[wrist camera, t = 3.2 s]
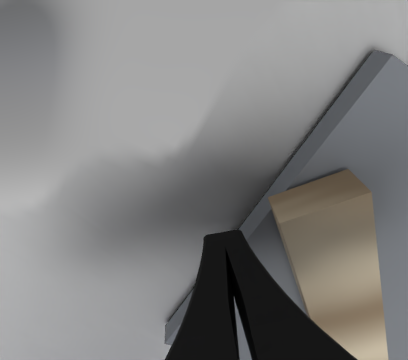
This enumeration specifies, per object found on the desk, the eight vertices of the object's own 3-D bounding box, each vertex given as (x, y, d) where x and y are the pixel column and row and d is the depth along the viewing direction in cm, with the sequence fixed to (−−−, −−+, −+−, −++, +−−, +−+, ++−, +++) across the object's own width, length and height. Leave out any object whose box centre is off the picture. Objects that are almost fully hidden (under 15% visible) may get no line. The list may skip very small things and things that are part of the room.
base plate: (369, 376, 21) (377, 392, 20) (165, 325, 16) (164, 343, 16) (602, 216, 15) (628, 230, 14) (374, 50, 10) (392, 54, 9)
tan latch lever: (382, 374, 19) (417, 438, 16) (326, 389, 19) (351, 453, 17) (356, 165, 11) (418, 223, 8) (259, 199, 11) (286, 265, 8)
